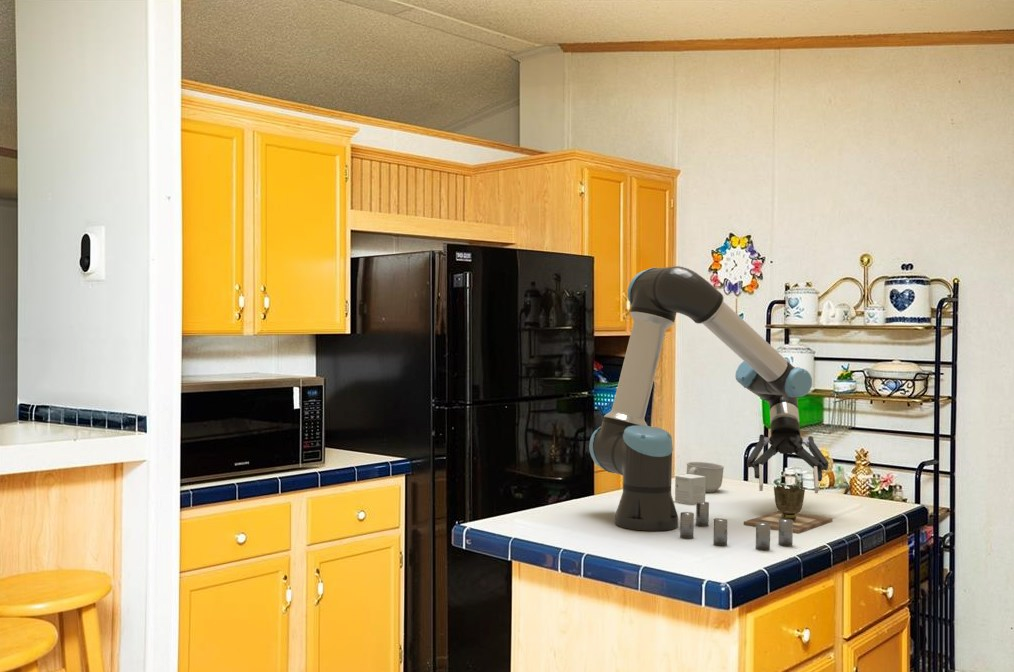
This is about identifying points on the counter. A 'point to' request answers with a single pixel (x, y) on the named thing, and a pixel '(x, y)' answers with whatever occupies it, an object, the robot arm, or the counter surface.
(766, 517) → the walnut pad
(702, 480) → the product box
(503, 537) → the counter surface
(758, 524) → the spacer field
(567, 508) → the counter surface
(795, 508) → the cup
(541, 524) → the counter surface
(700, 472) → the teacup
